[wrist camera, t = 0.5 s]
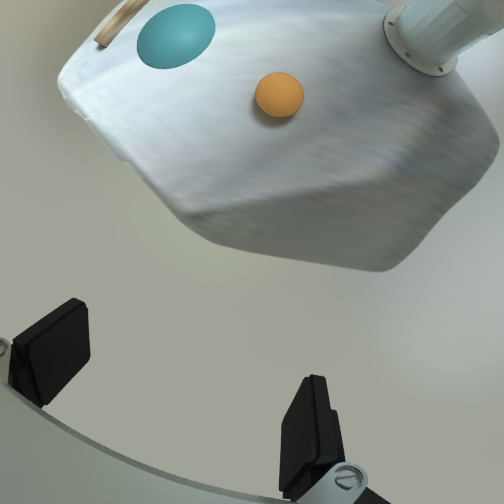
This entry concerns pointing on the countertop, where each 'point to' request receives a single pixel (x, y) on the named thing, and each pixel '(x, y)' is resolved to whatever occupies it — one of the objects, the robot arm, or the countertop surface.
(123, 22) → the stopper strip
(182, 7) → the disc
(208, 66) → the countertop surface
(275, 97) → the ball
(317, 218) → the countertop surface
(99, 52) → the countertop surface
